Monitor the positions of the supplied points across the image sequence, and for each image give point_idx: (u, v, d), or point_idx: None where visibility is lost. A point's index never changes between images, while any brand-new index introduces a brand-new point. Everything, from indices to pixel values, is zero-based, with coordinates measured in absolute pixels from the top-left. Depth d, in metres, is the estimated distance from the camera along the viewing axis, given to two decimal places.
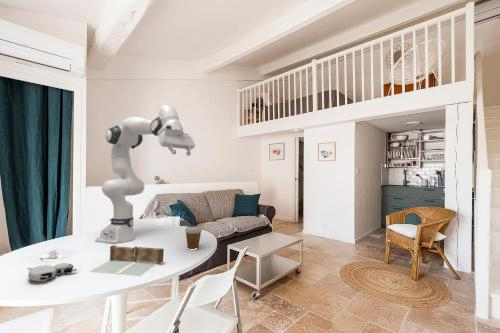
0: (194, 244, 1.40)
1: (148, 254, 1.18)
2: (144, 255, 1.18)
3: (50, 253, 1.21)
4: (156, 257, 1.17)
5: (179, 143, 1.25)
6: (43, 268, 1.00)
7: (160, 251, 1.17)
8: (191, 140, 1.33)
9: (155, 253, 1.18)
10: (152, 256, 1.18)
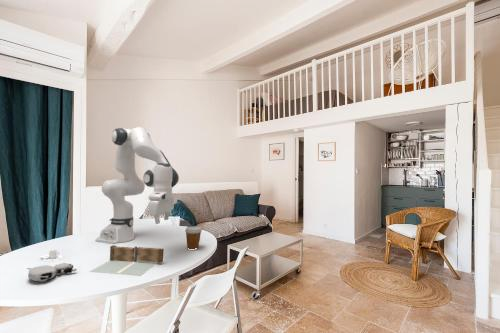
0: (194, 244, 1.40)
1: (148, 254, 1.18)
2: (144, 255, 1.18)
3: (50, 253, 1.21)
4: (156, 257, 1.17)
5: (164, 211, 1.23)
6: (43, 268, 1.00)
7: (160, 251, 1.17)
8: (172, 203, 1.32)
9: (155, 253, 1.18)
10: (152, 256, 1.18)
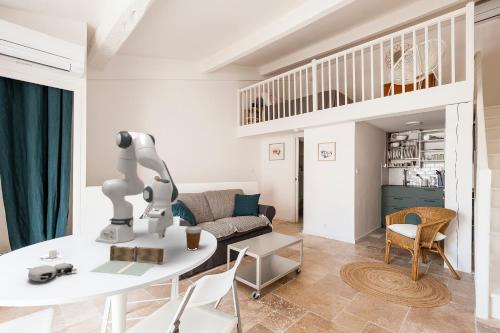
0: (194, 244, 1.40)
1: (148, 254, 1.18)
2: (144, 255, 1.18)
3: (50, 253, 1.21)
4: (156, 257, 1.17)
5: (164, 227, 1.23)
6: (43, 268, 1.00)
7: (160, 251, 1.17)
8: (172, 218, 1.32)
9: (155, 253, 1.18)
10: (152, 256, 1.18)
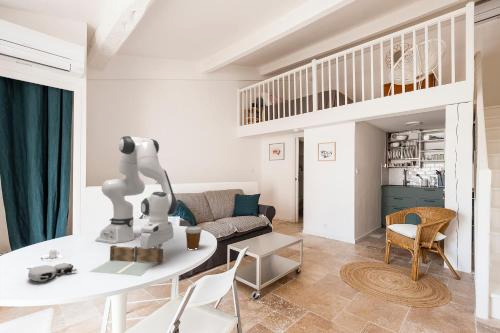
0: (194, 244, 1.40)
1: (148, 254, 1.18)
2: (144, 255, 1.18)
3: (50, 253, 1.21)
4: (156, 257, 1.17)
5: (159, 242, 1.19)
6: (43, 268, 1.00)
7: (160, 251, 1.17)
8: (171, 232, 1.28)
9: (155, 253, 1.17)
10: (152, 256, 1.17)
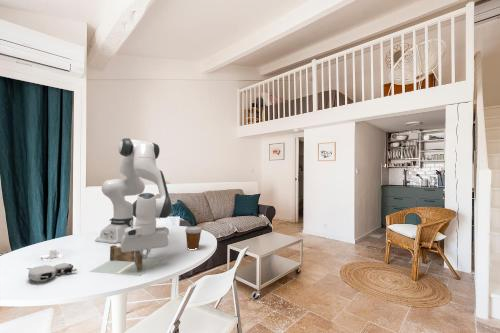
0: (194, 244, 1.40)
1: (136, 257, 1.13)
2: (135, 257, 1.15)
3: (50, 253, 1.21)
4: None
5: (143, 248, 1.10)
6: (43, 268, 1.00)
7: (137, 258, 1.08)
8: (164, 239, 1.15)
9: None
10: (136, 261, 1.11)
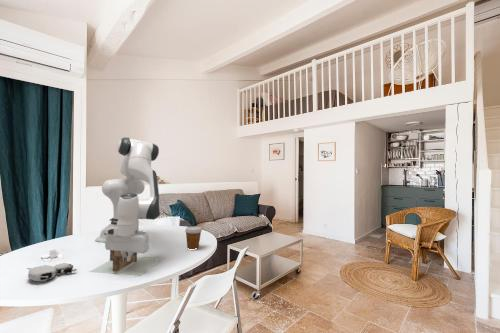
0: (194, 244, 1.40)
1: None
2: None
3: (50, 253, 1.21)
4: None
5: (122, 249, 1.07)
6: (43, 268, 1.00)
7: None
8: (141, 244, 1.06)
9: None
10: None
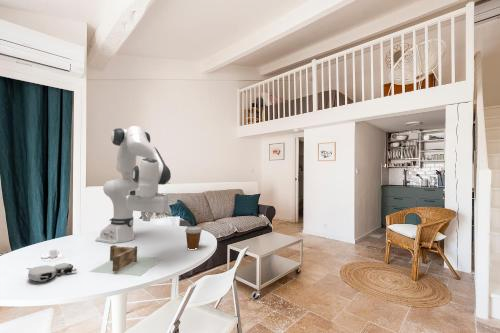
0: (194, 244, 1.40)
1: None
2: None
3: (50, 252, 1.21)
4: None
5: (142, 210, 1.15)
6: (43, 268, 1.00)
7: None
8: (161, 205, 1.13)
9: None
10: None
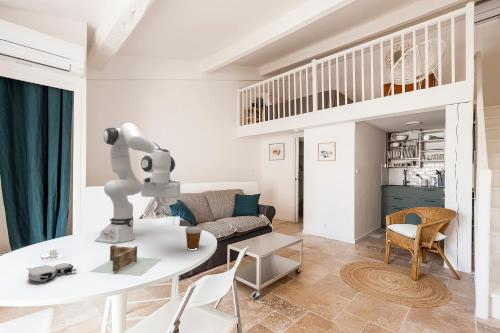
0: (194, 244, 1.40)
1: None
2: None
3: (50, 252, 1.21)
4: None
5: (157, 195, 1.25)
6: (43, 268, 1.00)
7: None
8: (174, 190, 1.24)
9: None
10: None
